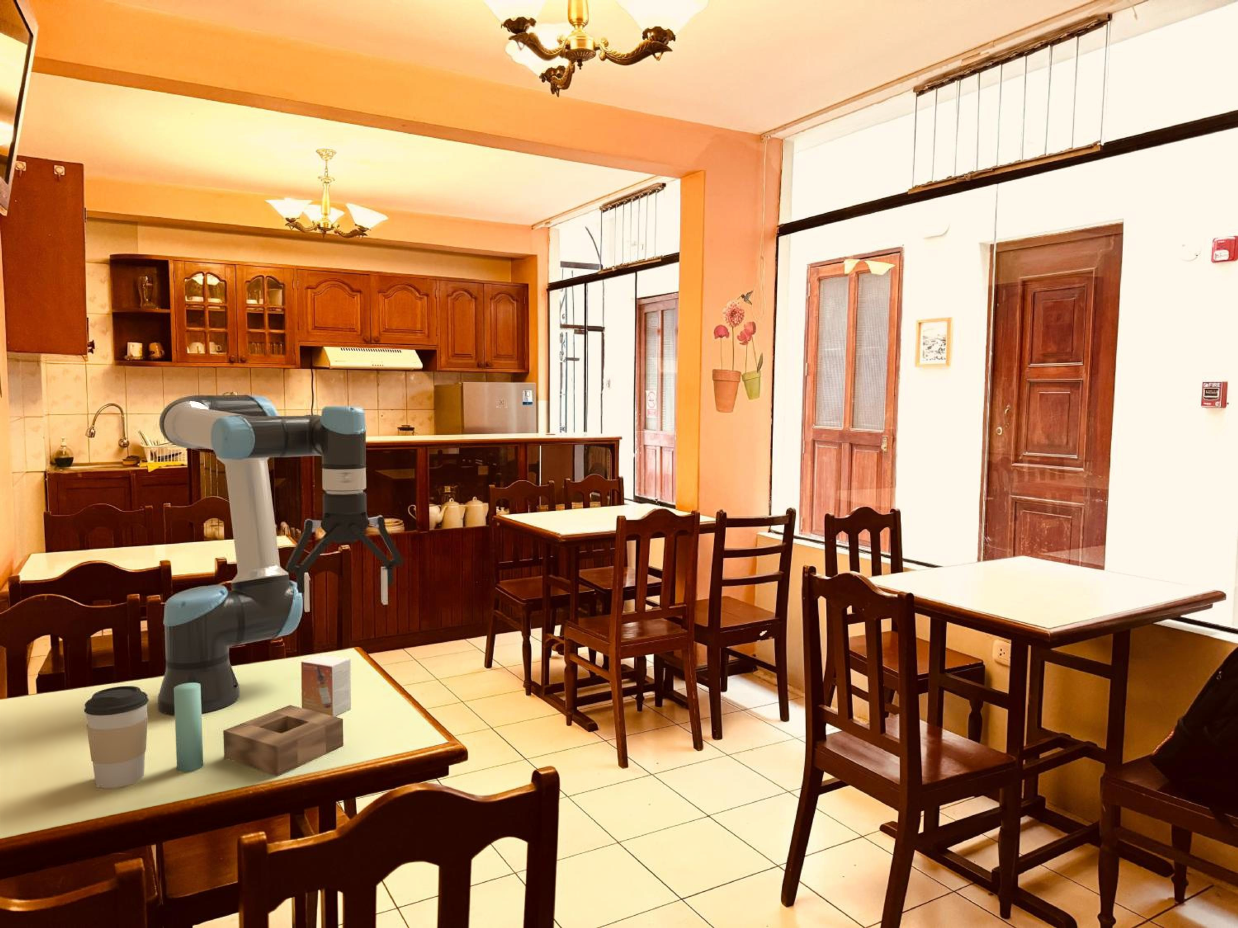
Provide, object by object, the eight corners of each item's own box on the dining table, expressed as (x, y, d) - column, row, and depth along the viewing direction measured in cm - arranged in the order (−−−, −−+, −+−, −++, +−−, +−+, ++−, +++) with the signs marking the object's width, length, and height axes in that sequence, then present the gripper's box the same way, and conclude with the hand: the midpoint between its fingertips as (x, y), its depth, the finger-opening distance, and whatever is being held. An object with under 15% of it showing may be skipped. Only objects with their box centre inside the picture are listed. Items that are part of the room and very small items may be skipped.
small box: (301, 712, 165) (299, 661, 165) (320, 703, 171) (319, 653, 170) (332, 718, 162) (331, 666, 162) (352, 708, 168) (351, 658, 167)
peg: (171, 768, 140) (168, 688, 139) (193, 759, 143) (190, 681, 142) (186, 773, 138) (183, 692, 137) (208, 764, 141) (205, 685, 140)
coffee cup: (106, 767, 140) (102, 681, 139) (161, 765, 141) (158, 680, 140) (75, 792, 131) (71, 700, 130) (135, 790, 132) (131, 699, 131)
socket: (224, 758, 144) (223, 730, 144) (290, 730, 156) (290, 704, 156) (278, 775, 137) (277, 746, 137) (343, 745, 150) (342, 718, 149)
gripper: (270, 496, 141) (273, 618, 143) (418, 491, 151) (419, 604, 153) (269, 491, 148) (271, 607, 149) (410, 486, 158) (411, 595, 160)
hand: (346, 606), depth 151 cm, fingers open, 13 cm apart
